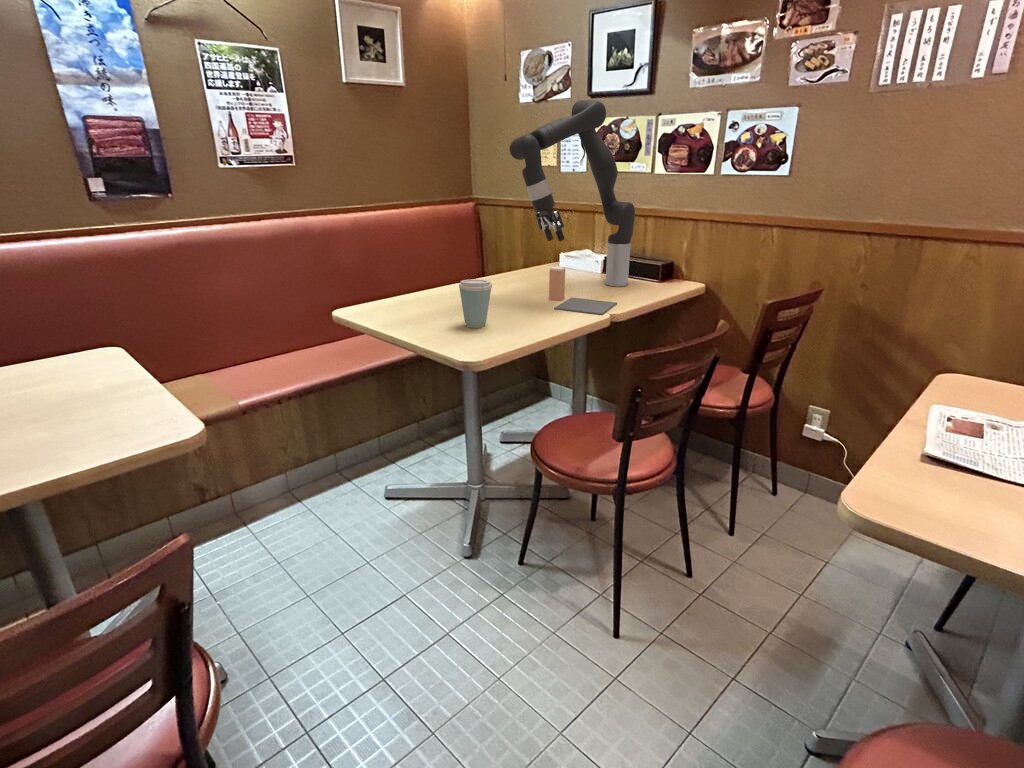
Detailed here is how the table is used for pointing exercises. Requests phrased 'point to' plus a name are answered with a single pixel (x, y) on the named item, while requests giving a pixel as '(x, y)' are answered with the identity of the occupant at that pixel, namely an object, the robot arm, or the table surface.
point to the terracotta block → (557, 283)
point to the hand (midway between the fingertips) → (556, 240)
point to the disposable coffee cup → (475, 301)
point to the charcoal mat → (586, 306)
